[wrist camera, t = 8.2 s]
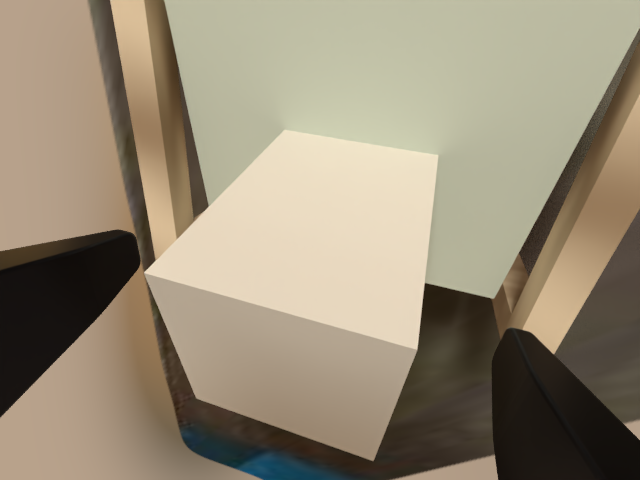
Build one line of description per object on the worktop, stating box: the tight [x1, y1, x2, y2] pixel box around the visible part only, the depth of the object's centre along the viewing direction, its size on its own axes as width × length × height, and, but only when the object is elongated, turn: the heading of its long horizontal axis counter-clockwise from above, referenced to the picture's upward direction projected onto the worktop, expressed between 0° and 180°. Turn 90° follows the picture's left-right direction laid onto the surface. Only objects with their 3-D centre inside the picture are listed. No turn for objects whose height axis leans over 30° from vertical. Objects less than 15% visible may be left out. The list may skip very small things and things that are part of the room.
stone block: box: [144, 130, 439, 461], centre depth 10 cm, size 5×5×7 cm
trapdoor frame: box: [110, 0, 640, 354], centre depth 14 cm, size 13×15×8 cm
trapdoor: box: [164, 0, 640, 299], centre depth 12 cm, size 10×12×1 cm
